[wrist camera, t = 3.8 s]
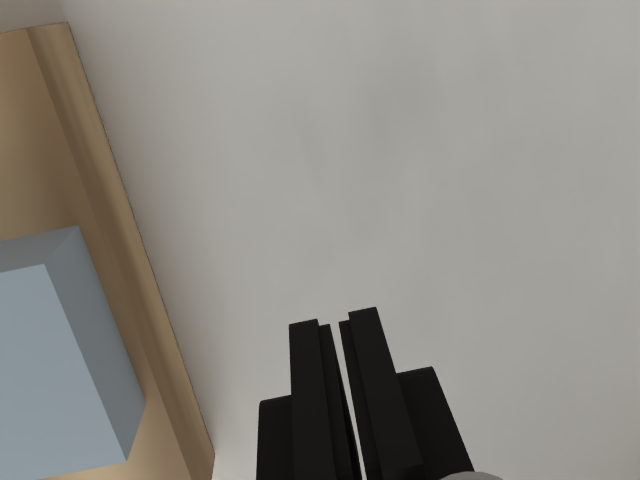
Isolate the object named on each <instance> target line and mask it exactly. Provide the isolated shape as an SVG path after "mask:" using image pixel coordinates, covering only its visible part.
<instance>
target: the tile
mask: <svg viewBox="0 0 640 480" xmlns="http://www.w3.org/2000/svg"><path fill="white" fill-rule="evenodd" d="M145 406H146V401H145V398H144V396H143V393H142V391H141V388H140V385H139V383H138V380H137V377H136V375H135V372H134V370H133V367H132V364H131V362H130V359H129V356H128V354H127V351H126V349H125V346H124V343H123V341H122V338H121V336H120V333H119V330H118V328H117V325H116V322H115V320H114V317H113V315H112V312H111V309H110V307H109V304H108V301H107V299H106V296H105V294H104V291H103V288H102V286H101V283H100V280H99V278H98V275H97V273H96V270H95V267H94V265H93V262H92V260H91V257H90V254H89V252H88V249H87V246H86V244H85V241H84V239H83V236H82V233H81V231H80V228H79V225H76V226H71V227H67V228H62V229H57V230H52V231H47V232H42V233H38V234H33V235H28V236H23V237H18V238H13V239H9V240H4V241H0V480H38V479H43V478H48V477H54V476H59V475H64V474H69V473H74V472H79V471H84V470H89V469H94V468H99V467H104V466H109V465H114V464H119V463H124V462H127V460H128V457H129V454H130V451H131V448H132V445H133V442H134V439H135V436H136V433H137V430H138V427H139V424H140V421H141V418H142V415H143V412H144V409H145Z"/></svg>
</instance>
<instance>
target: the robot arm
mask: <svg viewBox="0 0 640 480" xmlns="http://www.w3.org/2000/svg"><path fill="white" fill-rule="evenodd" d="M348 315H349V320H346V321H341V322H339V328H340V333H341V339H342V345H343V350H344V356H345V361H346V367H347V372H348V378H349V384H350V389H351V395H352V400H353V406H354V412H355V417H356V423H357V428H358V434H359V440H360V445H361V451H362V456H363V462H364V467H365V472H366V477H367V480H502V479H501V478H499V477H497V476H493V475H490V474H487V473H483V472H475V471H474V468H473V466H472V463H471V461H470V458H469V456H468V453H467V451H466V448H465V446H464V443H463V441H462V438H461V436H460V433H459V431H458V428H457V426H456V423H455V421H454V418H453V416H452V413H451V411H450V408H449V406H448V403H447V401H446V398H445V396H444V393H443V391H442V388H441V386H440V383H439V381H438V378H437V376H436V373H435V371H434V369H433V367H432V366H431V367H426V368H421V369H416V370H411V371H406V372H401V373H396V372H395V368H394V365H393V362H392V358H391V355H390V352H389V348H388V345H387V342H386V338H385V335H384V332H383V328H382V325H381V322H380V318H379V315H378V312H377V308H376V307H371V308H367V309H362V310H357V311H352V312H348ZM289 343H290V371H291V395H287V396H282V397H278V398H273V399H268V400H263V401H261V402H260V404H259V420H258V445H257V470H256V480H362V474H361V468H360V462H359V456H358V451H357V445H356V440H355V435H354V431H353V426H352V422H351V417H350V413H349V408H348V404H347V399H346V395H345V390H344V386H343V381H342V377H341V372H340V368H339V363H338V359H337V354H336V350H335V345H334V341H333V336H332V332H331V327H330V324H326V325H321V326H319V323H318V320H317V319H313V320H308V321H303V322H298V323H293V324H289Z"/></svg>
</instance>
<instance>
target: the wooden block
mask: <svg viewBox="0 0 640 480" xmlns="http://www.w3.org/2000/svg"><path fill="white" fill-rule="evenodd" d="M76 225H79V228H80V231H81V233H82V236H83V239H84V241H85V244H86V246H87V249H88V252H89V254H90V257H91V260H92V262H93V265H94V267H95V270H96V273H97V275H98V278H99V280H100V283H101V286H102V288H103V291H104V294H105V296H106V299H107V301H108V304H109V307H110V309H111V312H112V315H113V317H114V320H115V322H116V325H117V328H118V330H119V333H120V336H121V338H122V341H123V343H124V346H125V349H126V351H127V354H128V356H129V359H130V362H131V364H132V367H133V370H134V372H135V375H136V377H137V380H138V383H139V385H140V388H141V391H142V393H143V396H144V398H145V401H146V406H145V409H144V412H143V415H142V418H141V421H140V424H139V427H138V430H137V433H136V436H135V439H134V442H133V445H132V448H131V451H130V454H129V457H128V460H127V462H124V463H119V464H114V465H109V466H104V467H99V468H94V469H89V470H84V471H79V472H74V473H69V474H64V475H59V476H54V477H48V478H43V479H38V480H211V479H212V473H213V466H214V459H215V454H214V451H213V448H212V445H211V442H210V439H209V436H208V433H207V430H206V427H205V424H204V421H203V419H202V416H201V413H200V410H199V407H198V404H197V401H196V398H195V395H194V392H193V389H192V386H191V383H190V380H189V378H188V375H187V372H186V369H185V366H184V363H183V360H182V357H181V354H180V351H179V348H178V345H177V342H176V339H175V336H174V334H173V331H172V328H171V325H170V322H169V319H168V316H167V313H166V310H165V307H164V304H163V301H162V298H161V295H160V292H159V290H158V287H157V284H156V281H155V278H154V275H153V272H152V269H151V266H150V263H149V260H148V257H147V254H146V251H145V248H144V246H143V243H142V240H141V237H140V234H139V231H138V228H137V225H136V222H135V219H134V216H133V213H132V210H131V207H130V204H129V202H128V199H127V196H126V193H125V190H124V187H123V184H122V181H121V178H120V175H119V172H118V169H117V166H116V163H115V160H114V158H113V155H112V152H111V149H110V146H109V143H108V140H107V137H106V134H105V131H104V128H103V125H102V122H101V119H100V116H99V114H98V111H97V108H96V105H95V102H94V99H93V96H92V93H91V90H90V87H89V84H88V81H87V78H86V75H85V72H84V70H83V67H82V64H81V61H80V58H79V55H78V52H77V49H76V46H75V43H74V40H73V37H72V34H71V31H70V28H69V26H68V23H67V22H66V23H59V24H51V25H44V26H37V27H29V28H23V29H19V30H14V31H9V32H5V33H0V241H4V240H9V239H13V238H18V237H23V236H28V235H33V234H38V233H42V232H47V231H52V230H57V229H62V228H67V227H71V226H76Z"/></svg>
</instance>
